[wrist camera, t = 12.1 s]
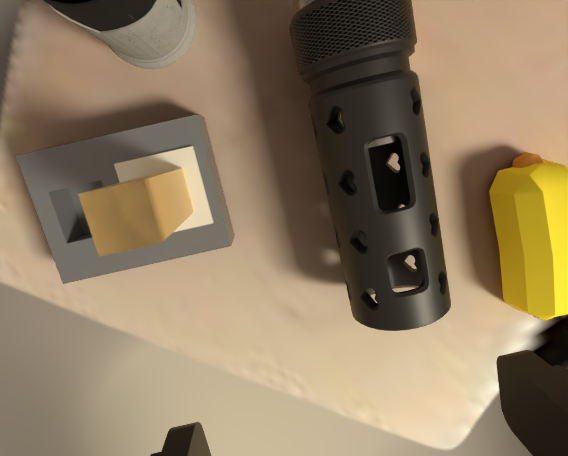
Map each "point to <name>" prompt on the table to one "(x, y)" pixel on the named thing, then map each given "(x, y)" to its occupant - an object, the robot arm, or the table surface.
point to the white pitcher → (136, 27)
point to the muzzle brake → (374, 156)
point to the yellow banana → (533, 235)
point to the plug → (136, 211)
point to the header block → (118, 168)
